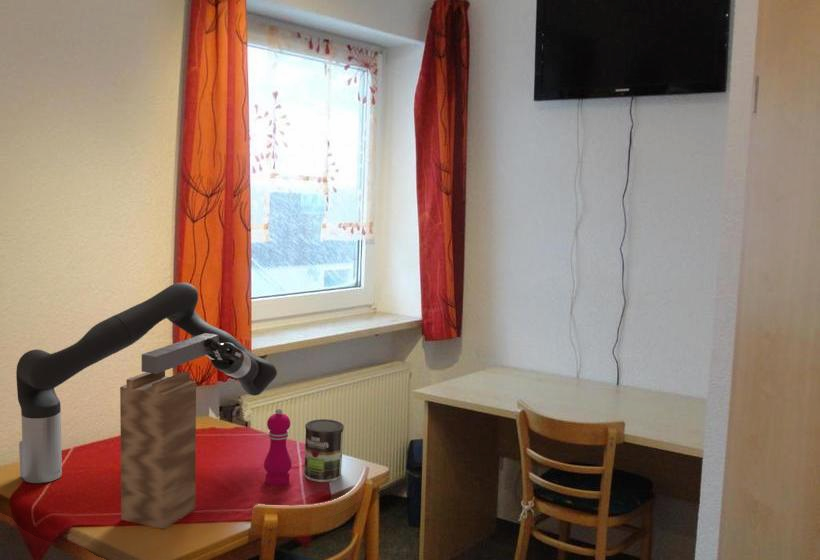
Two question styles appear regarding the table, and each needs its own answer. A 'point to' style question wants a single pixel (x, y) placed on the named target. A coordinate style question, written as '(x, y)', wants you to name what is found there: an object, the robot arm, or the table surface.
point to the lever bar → (177, 353)
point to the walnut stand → (158, 448)
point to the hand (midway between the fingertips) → (199, 340)
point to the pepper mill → (278, 450)
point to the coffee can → (323, 450)
